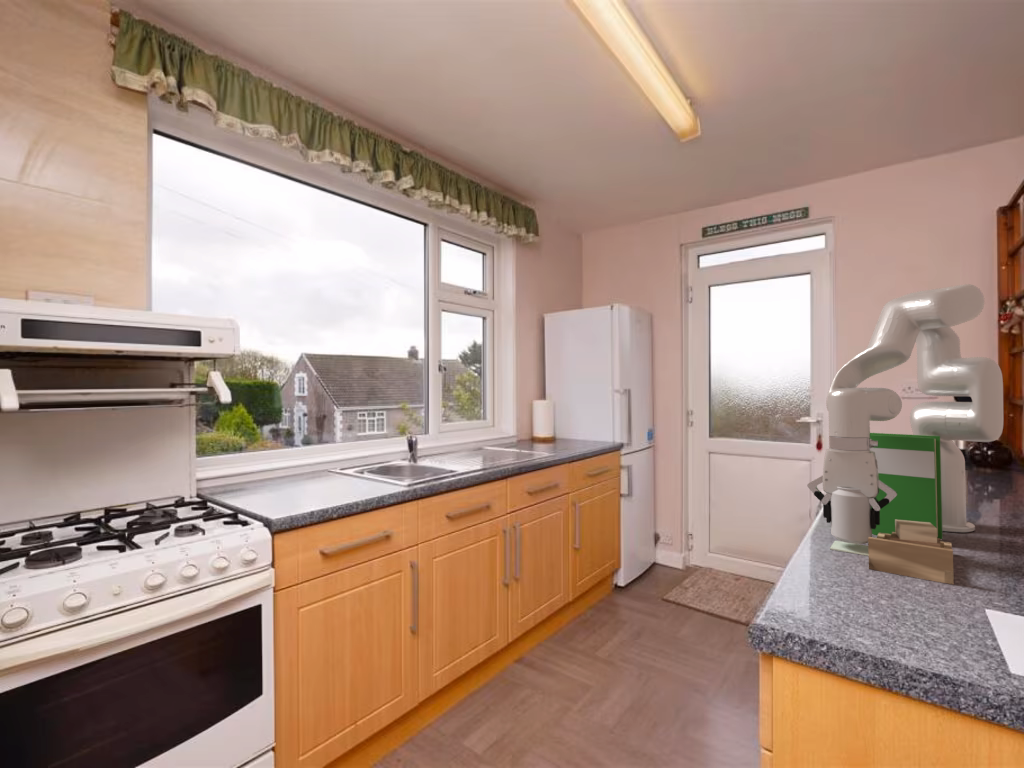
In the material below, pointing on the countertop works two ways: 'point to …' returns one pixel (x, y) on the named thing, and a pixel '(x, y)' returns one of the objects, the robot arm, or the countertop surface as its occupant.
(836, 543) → the mat
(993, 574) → the countertop surface
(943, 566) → the frame
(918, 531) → the offcut small
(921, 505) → the hardback book
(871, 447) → the robot arm
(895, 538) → the offcut large
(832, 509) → the can
